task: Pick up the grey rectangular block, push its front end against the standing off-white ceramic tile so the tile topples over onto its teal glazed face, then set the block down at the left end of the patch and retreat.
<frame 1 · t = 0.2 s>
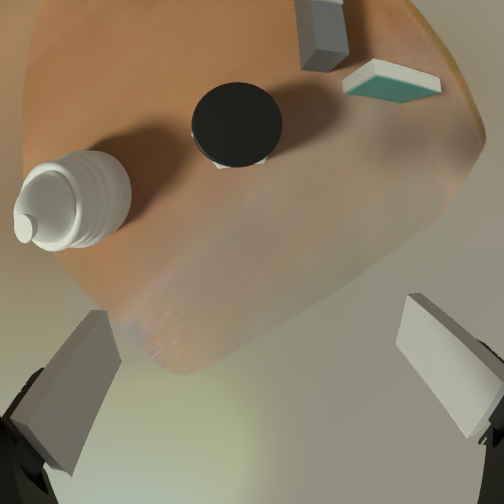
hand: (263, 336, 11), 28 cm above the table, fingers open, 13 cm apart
grey rectangular block: (310, 31, 30), on the table
honey pot: (93, 195, 35), on the table
jar: (236, 137, 34), on the table
tile: (373, 91, 33), on the table
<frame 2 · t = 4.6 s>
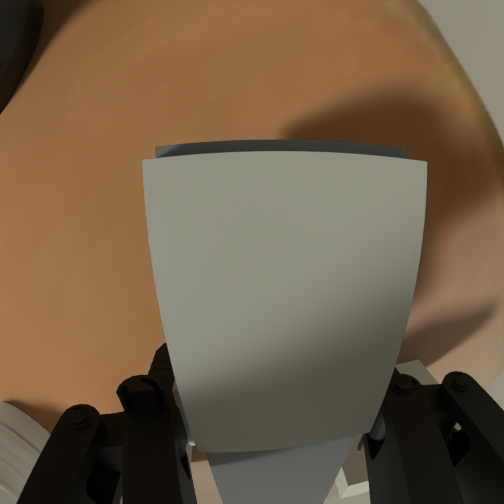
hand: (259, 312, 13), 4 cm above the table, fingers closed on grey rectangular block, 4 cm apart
grey rectangular block: (258, 308, 14), point 4 cm above the table, touching gripper
honey pot: (31, 434, 23), on the table
tile: (367, 379, 20), on the table
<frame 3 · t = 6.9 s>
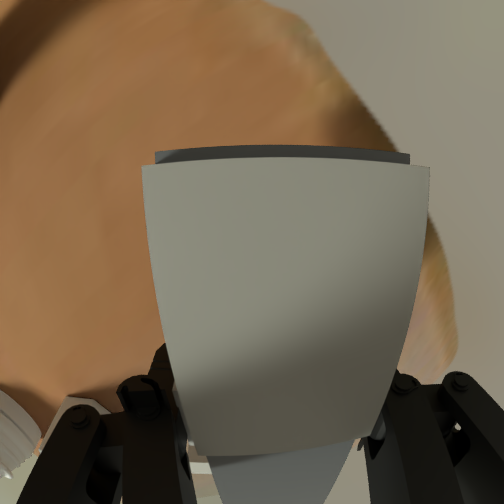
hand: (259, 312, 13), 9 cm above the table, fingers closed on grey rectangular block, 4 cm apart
grey rectangular block: (258, 310, 13), point 8 cm above the table, touching gripper
honey pot: (12, 413, 27), on the table
jar: (93, 416, 26), on the table
tile: (249, 380, 25), on the table
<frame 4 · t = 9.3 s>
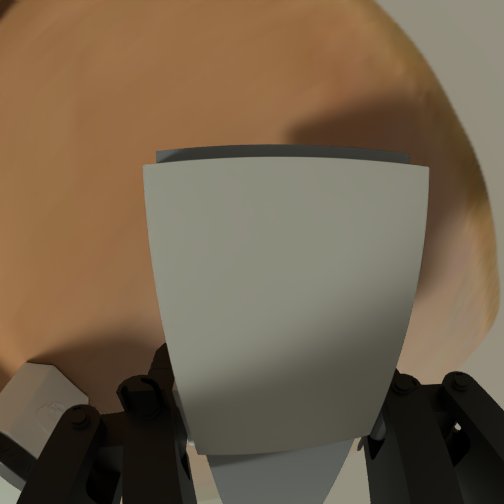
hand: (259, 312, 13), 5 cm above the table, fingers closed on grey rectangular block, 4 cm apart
grey rectangular block: (258, 309, 14), point 4 cm above the table, touching gripper
jar: (57, 391, 20), on the table
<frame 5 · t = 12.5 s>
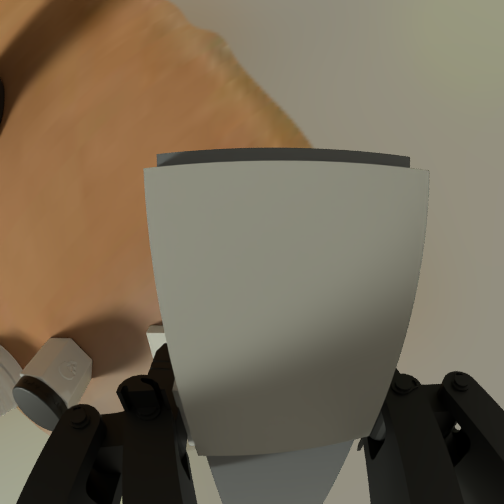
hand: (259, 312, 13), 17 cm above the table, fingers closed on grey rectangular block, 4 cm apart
grey rectangular block: (258, 310, 14), point 17 cm above the table, touching gripper
honey pot: (6, 367, 34), on the table
jar: (71, 357, 33), on the table
tile: (188, 328, 32), point 1 cm above the table, tilted 90°
when the fingers open (1 cm above the table, at t = 15.5 s): grey rectangular block stays where it is, on the table.
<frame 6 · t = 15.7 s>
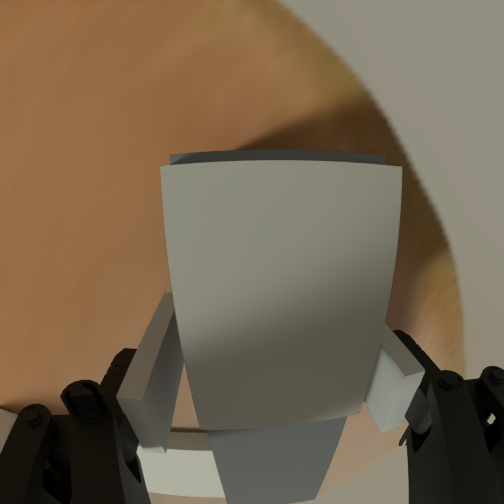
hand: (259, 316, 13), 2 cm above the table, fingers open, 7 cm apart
grey rectangular block: (256, 302, 14), on the table
jar: (24, 431, 18), on the table
tile: (163, 438, 16), point 1 cm above the table, tilted 90°
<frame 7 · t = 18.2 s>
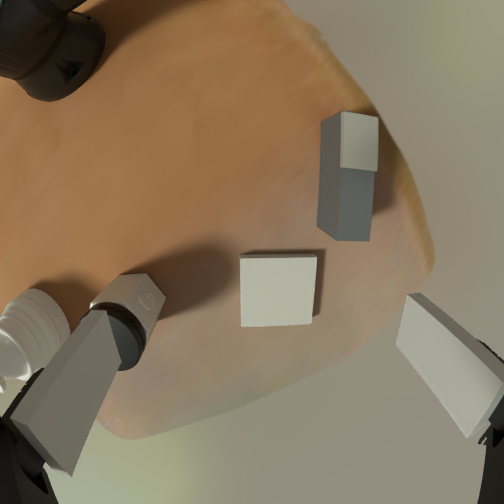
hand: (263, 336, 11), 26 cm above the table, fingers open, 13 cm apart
grey rectangular block: (333, 174, 35), on the table
honey pot: (43, 320, 39), on the table
jar: (138, 298, 38), on the table
tile: (278, 255, 37), point 1 cm above the table, tilted 90°
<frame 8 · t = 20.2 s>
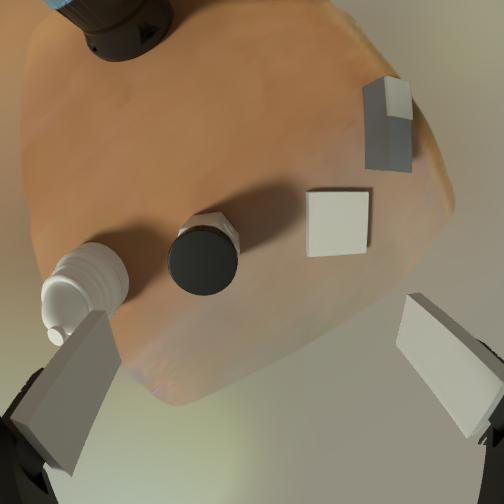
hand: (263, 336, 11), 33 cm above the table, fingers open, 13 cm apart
grey rectangular block: (374, 128, 39), on the table
honey pot: (97, 277, 44), on the table
jar: (210, 237, 43), on the table
tile: (337, 191, 42), point 1 cm above the table, tilted 90°
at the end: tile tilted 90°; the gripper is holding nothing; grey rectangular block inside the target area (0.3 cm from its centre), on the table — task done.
